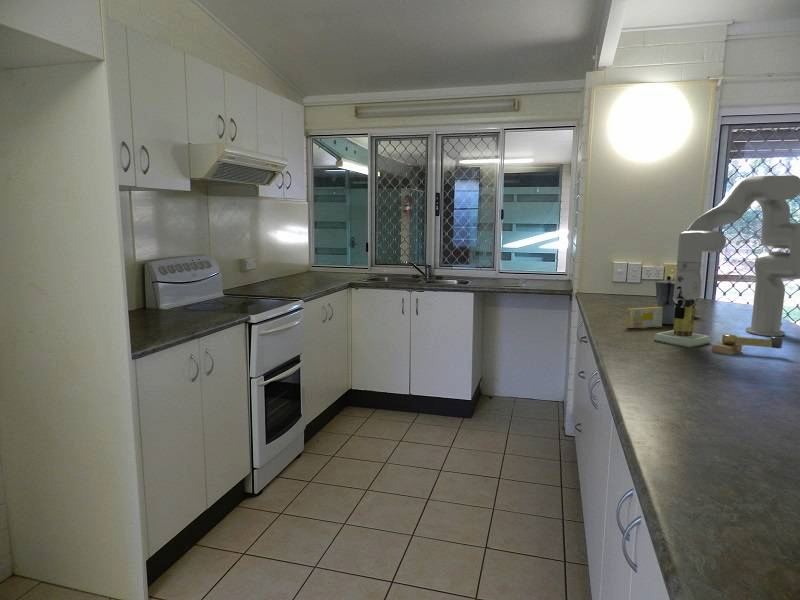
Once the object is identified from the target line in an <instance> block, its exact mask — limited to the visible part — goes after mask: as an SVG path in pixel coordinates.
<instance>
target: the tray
mask: <svg viewBox="0 0 800 600" xmlns="http://www.w3.org/2000/svg"><path fill="white" fill-rule="evenodd" d="M654 340H656V341H655V342H659V341H660V342H659V343H664V342H665V344H670V345H673V346H674V345H675V346H680V347H686V348H695V347H700V346H704V345H708V344H710V340H711V336H710V335H705V334H700V333H694V332H692V336H677V335H675V334H674V330H673V329H672V330H667V331H662V332H661V331H660V332H658V333H656V332H655V333H654ZM654 340H653V341H654Z"/></svg>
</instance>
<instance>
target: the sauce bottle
mask: <svg viewBox="0 0 800 600" xmlns="http://www.w3.org/2000/svg"><path fill="white" fill-rule="evenodd" d="M679 298H682V299H683V297H679ZM681 303H682V301H681ZM695 306H696V305H695V301H694V299H693V300H686V301H685V305H684V308H685V313H684V319H678V318H674V324H673V329H672V330H674V334H675V335H677V336H692V333H693V332H694V322H695V321H694V320H695V317H694V308H695ZM674 314H675V312H674Z"/></svg>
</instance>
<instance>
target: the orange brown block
mask: <svg viewBox="0 0 800 600" xmlns="http://www.w3.org/2000/svg"><path fill="white" fill-rule="evenodd" d="M742 347H743V345H739V344H725V343H722V341H721V342H717V343H713V344H712V346H711V352H713V353H718V354H723V355H728V356H732V355H735V354H737V353H738V354H739V353H741V352H742Z"/></svg>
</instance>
